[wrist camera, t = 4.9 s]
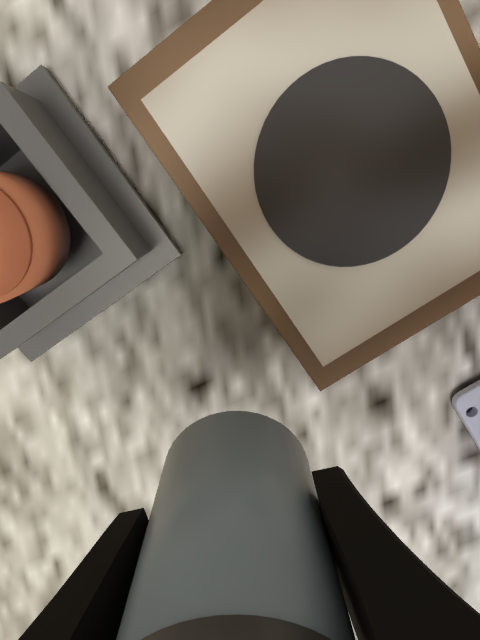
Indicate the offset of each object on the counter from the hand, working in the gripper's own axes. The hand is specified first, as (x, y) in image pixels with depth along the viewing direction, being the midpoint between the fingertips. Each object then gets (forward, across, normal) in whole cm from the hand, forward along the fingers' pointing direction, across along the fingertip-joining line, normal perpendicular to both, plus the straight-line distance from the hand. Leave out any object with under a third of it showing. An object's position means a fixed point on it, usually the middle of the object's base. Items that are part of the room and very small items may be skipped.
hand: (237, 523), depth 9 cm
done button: (+7, +6, -8) cm, 12 cm away
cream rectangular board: (+9, -6, -7) cm, 13 cm away
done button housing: (+9, +6, -8) cm, 13 cm away
